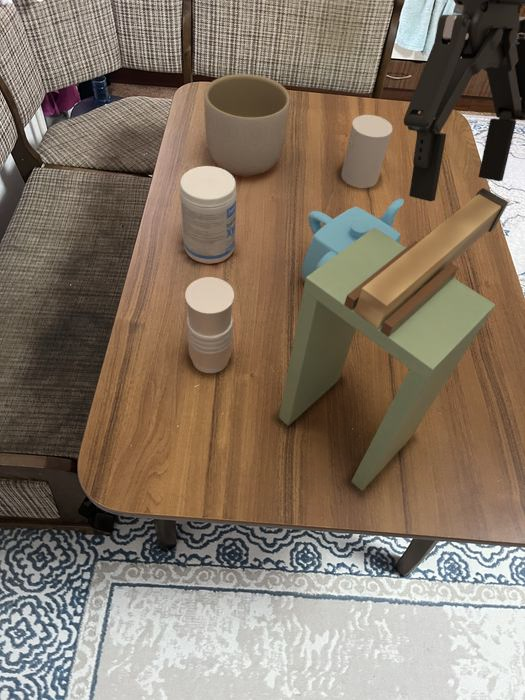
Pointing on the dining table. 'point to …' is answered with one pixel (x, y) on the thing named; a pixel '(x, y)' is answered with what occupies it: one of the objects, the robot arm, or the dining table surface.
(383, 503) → the dining table surface
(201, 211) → the supplement tub
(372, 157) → the white cylinder
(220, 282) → the candle
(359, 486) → the shelf stand
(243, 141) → the planter
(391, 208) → the teapot
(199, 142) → the dining table surface
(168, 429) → the dining table surface
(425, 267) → the slide bar
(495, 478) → the dining table surface
